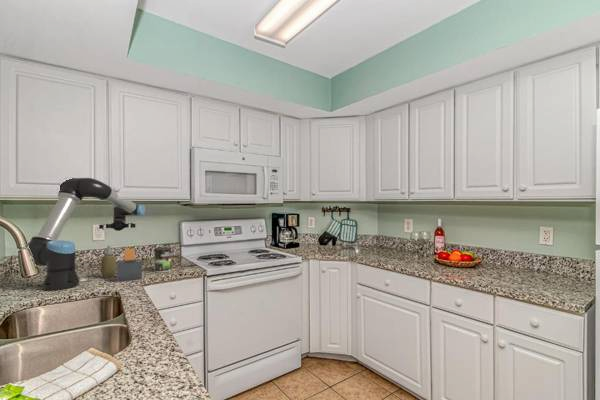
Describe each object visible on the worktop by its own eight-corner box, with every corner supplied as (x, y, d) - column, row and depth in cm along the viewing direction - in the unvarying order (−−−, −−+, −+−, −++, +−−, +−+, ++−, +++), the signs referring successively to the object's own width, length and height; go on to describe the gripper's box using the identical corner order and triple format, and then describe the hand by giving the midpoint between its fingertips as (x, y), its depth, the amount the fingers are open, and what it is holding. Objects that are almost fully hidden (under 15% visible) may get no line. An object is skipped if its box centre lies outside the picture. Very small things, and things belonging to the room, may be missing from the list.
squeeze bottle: (113, 278, 174) (113, 246, 174) (97, 278, 172) (97, 247, 172) (119, 274, 182) (119, 244, 182) (104, 275, 180) (104, 245, 180)
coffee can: (174, 270, 193) (174, 248, 193) (159, 273, 185) (159, 250, 185) (166, 268, 199) (166, 246, 199) (150, 271, 191) (150, 248, 191)
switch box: (117, 281, 165) (117, 263, 165) (118, 278, 172) (117, 260, 172) (141, 279, 171) (141, 261, 171) (141, 276, 178) (141, 258, 178)
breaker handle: (123, 262, 167) (123, 249, 167) (123, 261, 170) (123, 249, 170) (135, 261, 170) (135, 249, 170) (135, 260, 173) (135, 248, 173)
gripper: (139, 229, 215) (139, 232, 196) (97, 231, 203) (93, 233, 184) (139, 219, 215) (139, 220, 196) (97, 219, 203) (93, 221, 184)
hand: (117, 226), depth 190 cm, fingers open, 13 cm apart
